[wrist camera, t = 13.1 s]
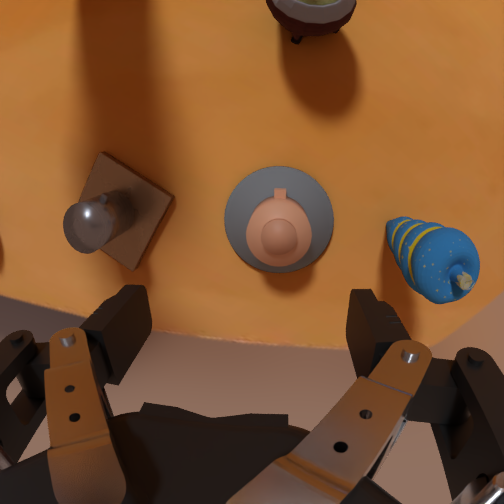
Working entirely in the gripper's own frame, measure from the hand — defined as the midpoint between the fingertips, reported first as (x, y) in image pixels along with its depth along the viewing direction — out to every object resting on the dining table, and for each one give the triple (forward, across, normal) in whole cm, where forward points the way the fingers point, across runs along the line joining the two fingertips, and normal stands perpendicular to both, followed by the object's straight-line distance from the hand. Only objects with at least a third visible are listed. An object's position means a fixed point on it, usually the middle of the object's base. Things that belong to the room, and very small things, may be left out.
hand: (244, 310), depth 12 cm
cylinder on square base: (+18, +15, 0) cm, 24 cm away
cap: (+18, -1, +1) cm, 18 cm away
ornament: (+19, -12, +1) cm, 22 cm away
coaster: (+18, -1, +1) cm, 18 cm away
